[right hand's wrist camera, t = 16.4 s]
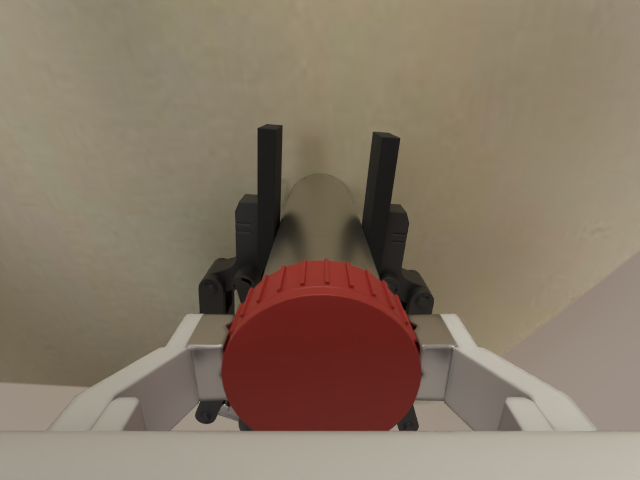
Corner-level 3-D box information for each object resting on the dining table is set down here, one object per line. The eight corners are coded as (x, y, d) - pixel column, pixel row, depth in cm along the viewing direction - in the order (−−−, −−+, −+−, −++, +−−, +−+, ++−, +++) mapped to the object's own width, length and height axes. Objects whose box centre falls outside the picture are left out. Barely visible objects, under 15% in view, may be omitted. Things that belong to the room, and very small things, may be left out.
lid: (231, 251, 10) (211, 285, 8) (420, 261, 10) (442, 296, 8) (237, 396, 11) (222, 450, 10) (395, 402, 12) (408, 456, 10)
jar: (287, 172, 22) (234, 292, 8) (355, 175, 23) (417, 300, 8) (286, 235, 24) (240, 426, 10) (350, 238, 24) (393, 432, 10)
